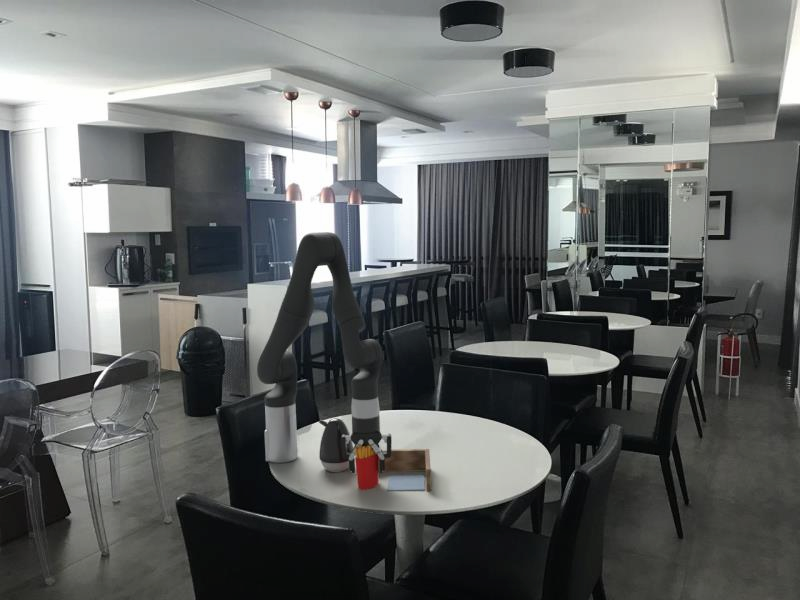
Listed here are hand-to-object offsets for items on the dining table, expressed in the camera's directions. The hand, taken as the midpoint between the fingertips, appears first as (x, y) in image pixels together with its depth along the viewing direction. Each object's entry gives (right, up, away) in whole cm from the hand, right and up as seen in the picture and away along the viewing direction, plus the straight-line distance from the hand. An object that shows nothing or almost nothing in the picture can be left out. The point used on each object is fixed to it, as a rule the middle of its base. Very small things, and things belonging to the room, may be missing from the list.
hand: (367, 472), depth 180 cm
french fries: (0, -4, 0) cm, 4 cm away
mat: (+11, -3, +1) cm, 11 cm away
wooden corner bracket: (+7, -3, +4) cm, 9 cm away
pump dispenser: (-10, -3, +14) cm, 17 cm away
